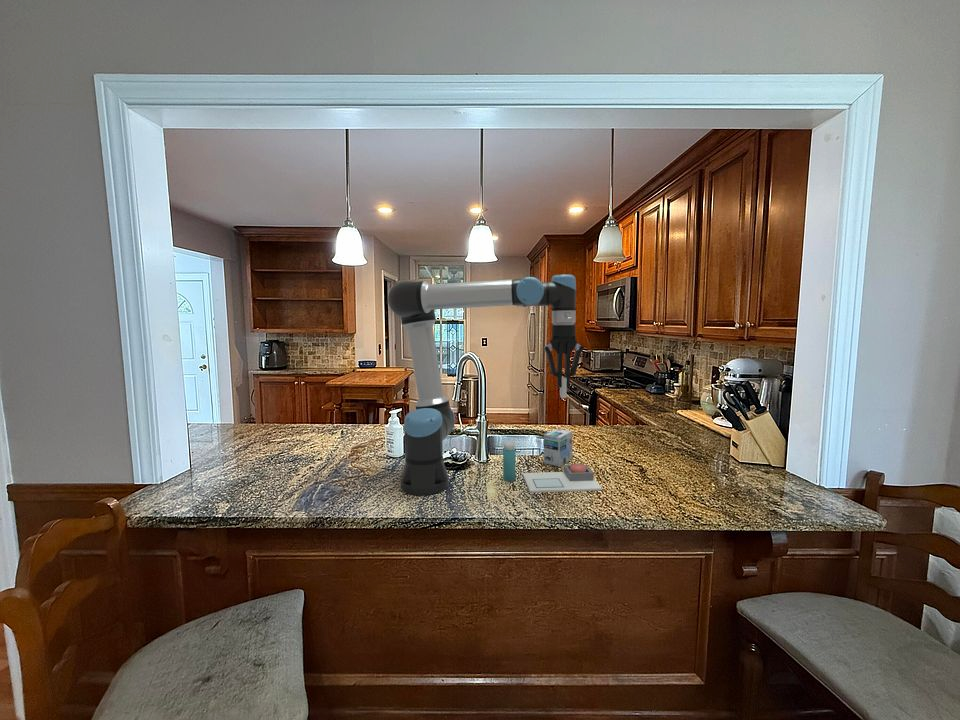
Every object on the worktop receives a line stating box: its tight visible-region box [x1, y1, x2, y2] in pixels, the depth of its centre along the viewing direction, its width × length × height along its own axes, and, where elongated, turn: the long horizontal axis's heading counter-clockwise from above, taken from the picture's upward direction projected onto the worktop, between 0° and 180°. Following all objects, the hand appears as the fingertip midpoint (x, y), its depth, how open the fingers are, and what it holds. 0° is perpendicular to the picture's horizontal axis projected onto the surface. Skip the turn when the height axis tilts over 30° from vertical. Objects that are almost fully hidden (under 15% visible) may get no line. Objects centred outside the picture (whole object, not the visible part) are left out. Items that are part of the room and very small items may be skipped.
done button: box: [569, 463, 586, 473], centre depth 129 cm, size 5×5×3 cm
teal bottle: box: [502, 441, 516, 482], centre depth 129 cm, size 4×4×12 cm
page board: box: [522, 464, 603, 494], centre depth 126 cm, size 22×14×3 cm, turn 93°
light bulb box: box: [543, 428, 573, 468], centre depth 145 cm, size 11×7×11 cm, turn 143°
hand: (563, 397), depth 129 cm, fingers closed
